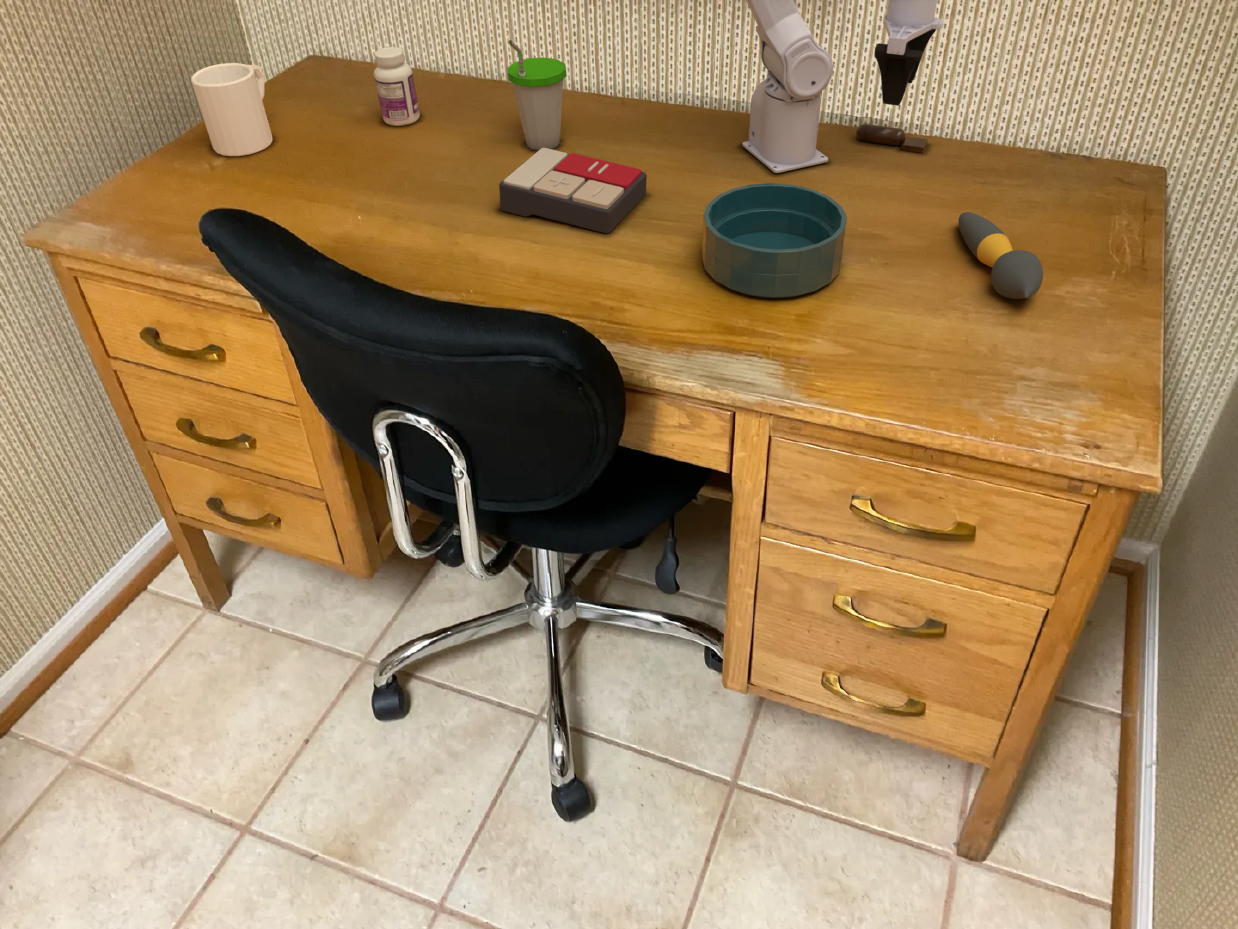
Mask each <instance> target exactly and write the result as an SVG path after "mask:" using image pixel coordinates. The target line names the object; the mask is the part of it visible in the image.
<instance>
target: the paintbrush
mask: <svg viewBox="0 0 1238 929" xmlns="http://www.w3.org/2000/svg"><path fill="white" fill-rule="evenodd" d="M958 229H959V231H960V234H961V237H962V239H963V241H964V243H965V244H966V246H967V247H968V249H969V251H971V253H972V254H973V255H974V257H975V258H976V259H977V260H978V261H979V262H981V263H982V264H984V265H985V266H988V267H989V268H991V273H990V280H991V285H992V288H993V289H994V291H995V292H996V293H997V294H998V295H1000V296H1001V297H1003V298H1007V299H1011V300H1012V299H1013V300H1021V299H1027V298H1032V297H1033V296H1034V295H1035V294H1037V293H1038V292H1039V290H1040V288H1041V286H1042V283H1043V279H1044V268H1043V266H1042V262H1041V260H1040V258H1039V257H1038V256H1037V255H1035V253H1033V252H1031V251H1028V250H1024V249H1014V250H1013V247H1012V244H1011V242H1010V241H1011V240H1010V239H1009V237H1008V236H1007V235H1006V234H1005V232H1004V231H1003V230H1002V229H1001V228H1000V227H999V226H997V225H996V224H995V223H993V222H992V221H990V220H989V219H987V218H986V217H984V216H982V215H980V214H978V213H976V212H972V211H965V212H962V213H961V214H959V216H958Z"/></svg>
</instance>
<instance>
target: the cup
mask: <svg viewBox="0 0 1238 929" xmlns="http://www.w3.org/2000/svg"><path fill="white" fill-rule="evenodd" d="M507 43H508V45H509V46H510V47H511V48H513V50H515V51H516V54H517V57H518V61H514V62H513V63H512V64H510V65H509V66H508V67H507V79H508V81H509V82H510V83H512V88H513V93H514V97H515V101H516V105H517V109H518V113H519V114H518V115H519V118H520V122H521V126H522V131H523V135H524V139H525V143H526V147H527V148H528V149H529V150H531V151H536V152H537V151H538V150H540V149H541V148H548V149H552V150H555V149H556V148H558V147H559V146H560V144H561V143H560V142H561V129H562V128H561V126H562V110H563V93H564V92H563V91H564V79H565V78H566V77H567V66H566V63H564V62H563V61H561V60H559V59H557V58H551V57H543V56H542V57H529V58H528V57H527V58H525V59H524V57H523V56H524V55H523V51H522V48H521V47H519V46H518V45H517V44H516V43H515V42H514V41H512V40H511V39H509V40H508V42H507Z"/></svg>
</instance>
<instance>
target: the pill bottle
mask: <svg viewBox="0 0 1238 929" xmlns="http://www.w3.org/2000/svg"><path fill="white" fill-rule="evenodd" d="M405 57H406V56H405V52H404V49H403V48H401V47H397V46H388V47H383V48H379V49H377V50H375V52H374V58H375V63H376V65H377V66H376V67H375V69H374V70H373V78H374V83H375V87H376V92H377V97H378V102H379V108H380V111H381V116H382V120H383V122H384V123H386V124H387V125H388V126H393V127H401V126H407V125H411V124H414V123H416V122H417V121H418V120H419V119H420V116H421V113H420V107H419V101H418V96H417V95H418V94H417V90H416V84H415V78H414V73H413V70H412V67H411V66H410V64H408V63H407V62H405V60H406V58H405Z"/></svg>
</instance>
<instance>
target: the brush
mask: <svg viewBox="0 0 1238 929" xmlns="http://www.w3.org/2000/svg"><path fill="white" fill-rule="evenodd" d="M855 136H856V138H857V139H858V140H860V141H863V142H868V143H876V144H882V145H888V146H897V147H898V146H901V151H906V152H911V153H918V154H923V153H924V151H925V149H926V147H927V145H928V142H929V141H928V140H929V139H927V138H922V137H915V136H908V135H907V133H906V132H905V130H904V129H902V128H900V127H899V128H898V127H893V126H885V125H879V124H871V123H862V124H860V125H859V126H858V127H857V128H856V130H855Z"/></svg>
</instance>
